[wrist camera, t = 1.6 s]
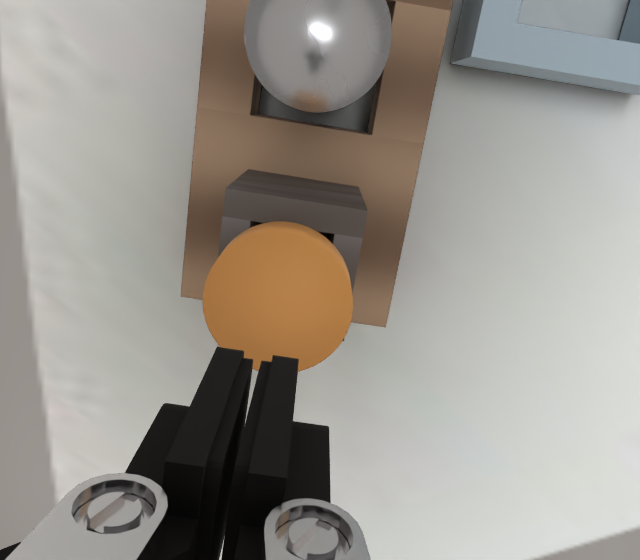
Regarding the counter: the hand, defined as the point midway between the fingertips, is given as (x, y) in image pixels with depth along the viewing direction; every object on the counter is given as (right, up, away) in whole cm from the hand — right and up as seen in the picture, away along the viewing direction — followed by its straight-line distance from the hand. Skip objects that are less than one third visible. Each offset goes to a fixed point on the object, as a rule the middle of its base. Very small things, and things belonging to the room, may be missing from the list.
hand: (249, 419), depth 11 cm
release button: (0, +4, +12) cm, 13 cm away
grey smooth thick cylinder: (+1, +13, +15) cm, 20 cm away
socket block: (+1, +10, +16) cm, 19 cm away
